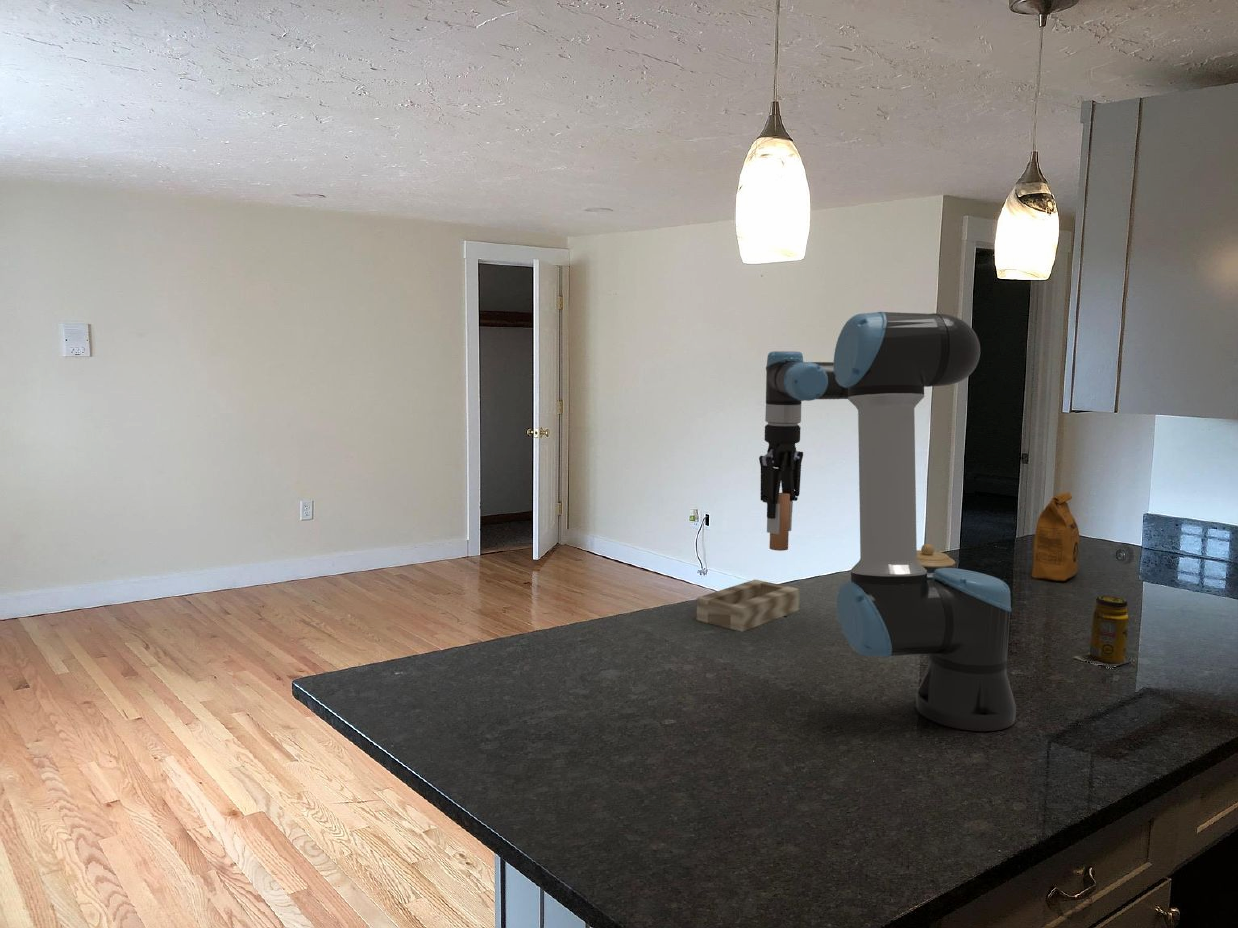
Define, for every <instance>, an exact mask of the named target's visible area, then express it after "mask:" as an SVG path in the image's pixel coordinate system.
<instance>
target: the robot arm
mask: <svg viewBox="0 0 1238 928" xmlns="http://www.w3.org/2000/svg"><path fill="white" fill-rule="evenodd" d="M979 340H980V339H979V338H978V336H977V333H976V332H975V331H974V329H973V328H972V327H971V326H970V325H969V324H968V323H966V322H965V321H964V320H962V319H960V318H958V317H956V316H953V315H950V314H946V313H940V312H939V313H936V312H935V313H934V312H932V313H926V312H925V313H923V312H922V313H920V312H919V313H917V312H897V311H896V312H895V311H894V312H893V311H890V312H889V311H878V312H866V313H865V312H863V313H858V314H854V315H853V316H851V317H850V318H849V319H848V320H847V321H846V322H845V324H844V325H843V327H842V329H841V331H840V333H839V336H838V338H837V341H836V345H835V349H834V354H833V355H834V356H833V361H832V362H831V361H828V362H827V361H826V362H825V361H804V356H803V353H802V352H800V351H792V350H791V351H790V350H789V351H787V350H786V351H785V350H783V351H782V350H781V351H776V350H775V351H774V350H773V351H770V352H769V353H768V354H767V360H766V366H765V370H766V374H765V375H766V379H765V380H766V381H765V383H766V384H765V415H764V416H765V418H764V419H765V420H764V421H765V423H767V424H765V425H764V441H765V442H766V443H767V444H768V446H767V447H768V448H767V450H766V451H767V452H766V454H765V455H760V456H759V457H758V460H759V466H760V501H761V502H762V503H766V533H769V534H770V533H773V534H779V526H780V504H778V497H779V493H780V490H781V493H788V494H790V507H789V532H791V531H792V522H793V502H797V501H798V500H799V499H798V497H799V496H800V490H801V478H802V477H801V476H802V475H801V474H802V473H801V472H802V462H803V457H804V451H799V450H797V447H796V444H799V443H800V441H801V426H800V425H799V424H801V422H802V402H803V401H804V402H805V401H806V402H807V401H809V402H810V401H815V400H848V402H850V403H851V404H852V405H853V406H854V407H855V408H856V409H857V420H858V421H857V422H858V423H857V426H858V427H857V428H858V429H857V432H858V481H859V482H858V487H859V489H858V490H859V546H860V547H859V548H860V550H859V552H860V558H859V561H858V562H857V563H855V565H854V566H853V567H851V569H850V581H847V582H844V583H843V584H841V585H840V587H839V589H838V593H837V599H836V606H837V613H838V614H837V615H838V619H839V623H840V626H841V630H842V633H843V635H844V637H845V639H846V641H847V643H848V644H849V646H850V647H851V648H852V649H853V650H854V652H856V653H857V654H858V655H861V656H864V657H882V658H886V659H887V658H889V657H898V656H900V657H901V656H917V655H929V661H928V665H927V667H926V670H925V672H924V674H923V677H922V679H921V681H920V684H919V687H918V689H917V690H916V696H915V697H916V698H915V707H916V711H917V712H918V713H919V714H920V715H921V716H923V717H924V718H926V719H927V720H930V721H931V722H934V723H937V724H940V725H942V726H946V727H950V728H954V729H958V730H965V731H974V732H975V731H976V732H994V731H1000V730H1005V729H1007V728H1010V727H1012V726H1013V724H1014V723H1015V722H1016V714H1017V713H1016V712H1017V706H1016V702H1015V699H1014V695H1013V692H1012V689H1011V684H1010V681H1009V677H1008V673H1007V663H1008V661H1007V660H1008V649H1009V648H1008V647H1009V632H1010V619H1011V612H1012V606H1011V605H1012V604H1011V603H1012V602H1011V601H1012V600H1011V589H1010V587H1009V585H1008V584H1007V583H1006V582H1004V580H1001V579H1000V578H998V577H995V576H993V575H990V574H989V575H988V574H986V573H983V572H982V573H981V572H978V571H973V570H968V569H963V568H957V567H956V568H955V567H953V568H939V569H936V570H935V571H934V574H933V578H934V580H927V570H926V569H925V568H924V567H923V566H922V565H921V564H920V563H919V562H918V561H917V550H918V549H917V541H918V540H917V500H916V499H917V497H916V495H917V493H916V492H917V491H916V489H917V488H916V483H917V482H916V481H917V480H916V436H915V435H916V433H915V432H916V431H915V430H916V429H915V428H916V427H915V426H916V424H915V421H916V420H915V418H916V416H915V409H916V406H917V405H918V404H920V402H921V401H922V400H923V399H924V398H925V387H927V388H929V387H931V388H932V387H944V386H945V387H946V386H950V385H955V384H957V383H960V382H962V381H964V380H965V379H967V378H968V377H969V376H970V375H971V374H973V372H974V370H975V369H976V368H977V366H978V364H979V361H980V356H981V345H980V341H979ZM780 488H781V489H780Z"/></svg>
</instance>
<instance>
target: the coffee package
mask: <svg viewBox="0 0 1238 928" xmlns="http://www.w3.org/2000/svg"><path fill="white" fill-rule="evenodd" d="M1072 498H1073V497H1072V495H1071V494H1070V492H1065V493H1064V492H1063V493H1061V494H1058V495H1054V496H1053V497H1052V498H1051V499H1050V501H1049V503H1048V504H1047V505H1046V506H1045V508H1044V509H1043V510H1042V511H1041V514H1040V515H1039V516H1038V518H1037V519H1038V520H1037V523H1036V527H1035V534H1034V539H1033V540H1034V542H1033V556H1032V557H1033V561H1032V562H1033V563H1032V565H1033V566H1032V571H1031V577H1032V578H1034V579H1041V580H1051V581H1056V582H1057V581H1059V582H1060V581H1066V580H1067V579H1070V578H1072V577H1074V576H1075V575H1076V573H1077V572H1078V561H1079V560H1078V559H1079V547H1080V537H1081V536H1080V532H1079V526H1078V524H1077V522H1076V520H1075V518H1074V516H1073V514H1072V513H1071V511H1070V507H1069V505H1068V501H1070V500H1071V499H1072Z"/></svg>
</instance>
